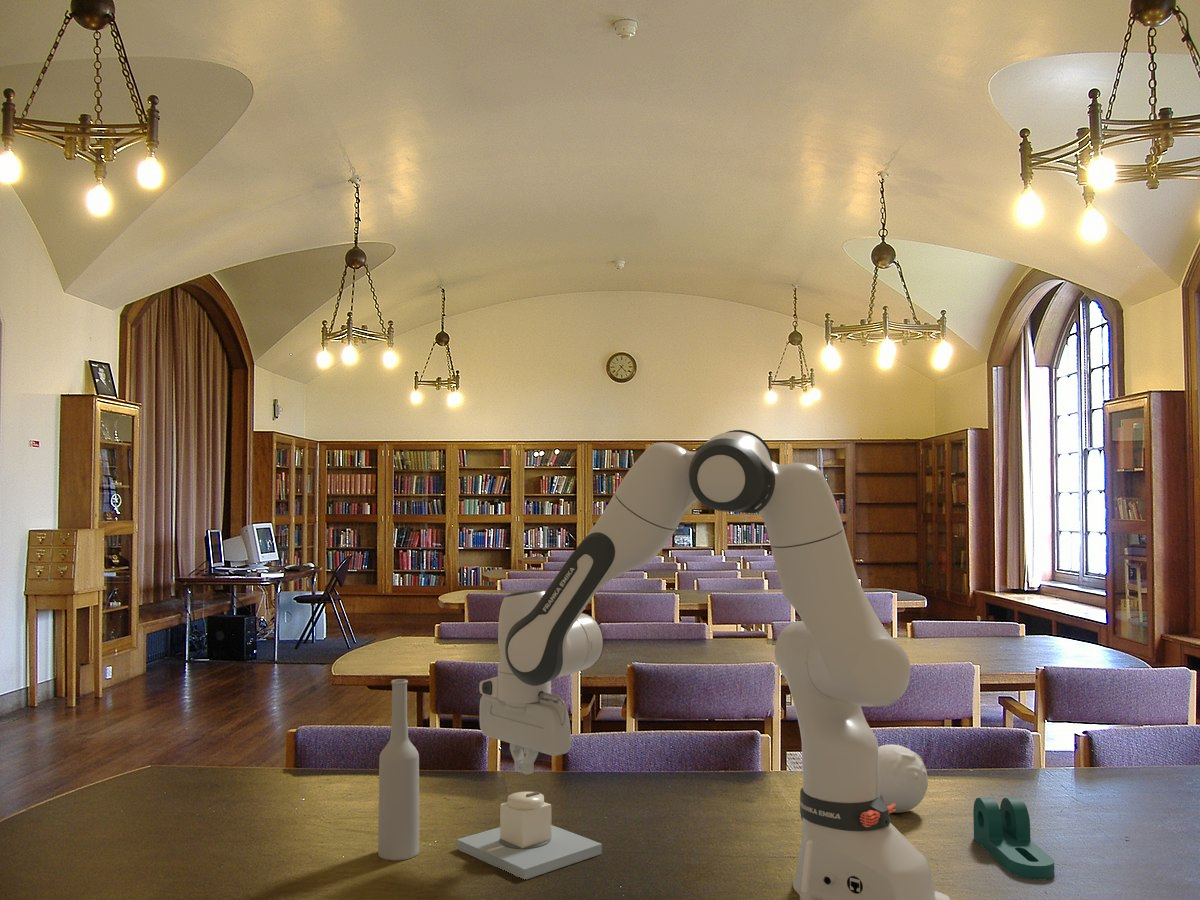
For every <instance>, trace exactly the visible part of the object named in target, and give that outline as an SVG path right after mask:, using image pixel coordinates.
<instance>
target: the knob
mask: <svg viewBox="0 0 1200 900" xmlns="http://www.w3.org/2000/svg"><path fill="white" fill-rule="evenodd" d="M499 806H500V807H499V810H500V811H499V814H500V815H499V816H500V819H499V827H500V839H502V840H505V841H507V842H510V843H512V844H514V845H517V846H519V847H521V848H524V847H528V846H531V845H534V844H537V843H541V842H544V841H547V840H550V839H551V825H552V804H551V803H548V802H545V795H544V794H542V793H541V792H539V791H517V792H514V793H510V794H509V795H508V796H507V802H502V803H501V804H499Z"/></svg>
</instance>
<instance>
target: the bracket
mask: <svg viewBox="0 0 1200 900" xmlns="http://www.w3.org/2000/svg"><path fill="white" fill-rule="evenodd" d="M972 812H973V815H972V817H973V839H974V840H975V841H976V843H978V844H979V845H980V847H982V848H983V849H984V850H985V851H986V852H987V853H988V854H990V855H991V857H993V858H994V859H995V860H996V861H997V862H998V863H999V864H1000V865H1001V866H1003V868H1004V869H1006V871H1008V873H1010V874H1011V875H1013V874H1014V875H1013V876H1016V877H1018V876H1020V877H1019V878H1022V877H1023V879H1026V878H1027V879H1028V880H1033V879H1034V880H1033V881H1042V879H1046V880H1050V878H1051V879H1053V878H1054V877H1055V859H1054V858H1053V857H1052V856H1051V855H1049V854H1048V853H1047V852H1046V851H1044V850H1043V849H1042V848H1041V847H1040V846H1038V845H1037V844H1036V843H1035V842H1033V841H1032V839H1031V821H1030V820H1031V819H1030V815H1029V810H1028V807H1027V805H1026V802H1025V801H1024V800H1023V799H1022V798H1020V797H1004V798H1002V800H1001V802H1000V806H999V804H998V802H997V800H996V799H995V798H993V797H977V798H976V799H975V800H974V803H973V811H972ZM1052 877H1053V878H1052ZM1027 879H1026V880H1027ZM1035 879H1036V880H1035ZM1039 879H1041V880H1039Z"/></svg>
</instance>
